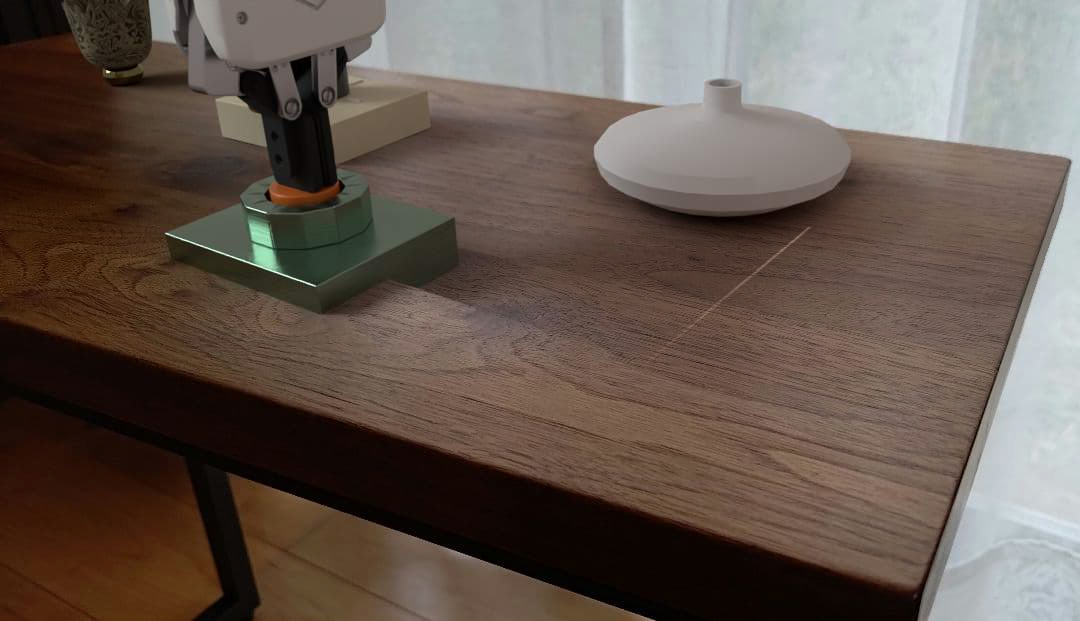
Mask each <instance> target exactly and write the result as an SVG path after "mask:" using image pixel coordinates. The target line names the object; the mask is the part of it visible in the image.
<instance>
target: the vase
mask: <svg viewBox="0 0 1080 621" xmlns="http://www.w3.org/2000/svg"><path fill="white" fill-rule="evenodd" d="M742 84H743V82H741V81H740V80H738V79H734V78H728V77H727V78H724V77H722V78H721V77H719V78H711V79H708V80H706V81H705V82H704V84H703V96H702V99H703V100H702V102H693V103H692V102H691V103H684V104H683V103H682V104H675V105H674V104H673V105H665V106H660V107H656V108H651V109H646V110H642V111H638V112H636V113H633V114H630V115H628V116H625V117H622V118H621V119H619V120H617V121H616V122H614V123H612V124H611V125H609V126H608V128H607V129H606V130H605V131H604V133H602V135H601V136H600V138H599V139H598V140H597V142H596V143H595V144H594V145H593V157H594V160H595V163H596V166H597V169H598V171H599V174H600V176H601V177H602V178H603V179H604V180H605V181H606V183H607V184H608V185H609V186H610V187H612V188H614V189H615V190H618V191H619V192H621V193H623V194H625V195H627V196H629V197H631V198H634V199H637V200H640V201H642V202H644V203H647V204H649V205H653V206H654V207H658V208H661V209H665V210H668V211H671V212H676V213H681V214H686V215H692V216H702V217H703V216H704V217H717V218H720V217H721V218H722V217H746V216H747V217H748V216H753V215H760V214H762V215H763V214H767V213H771V212H775V211H779V210H782V209H786V208H789V207H791V206H792V207H793V206H795V205H798V204H801V203H804V202H808V201H811V200H814V199H816V198H818V197H819V196H822V195H824V194H826V193H827V192H830V191H831V190H833V189H834V188H835V187H836V186H837V185H838V184H839V183H840V182H841V181H842V179H843V178H844V176H845V174H846V173H847V170H848V168H849V166H850V164H851V160H852V149H851V147H850V146H849V145H848V143H847V142H846V140H845V139H844V138H843V137H842V135H841V134H840V132H839V131H838V130H837V129H836V127H834V126H833V125H831V124H830V123H828V122H826V121H824V120H822V119H821V118H819V117H815V116H812V115H809V114H807V113H803V112H801V111H796V110H792V109H787V108H782V107H778V106H771V105H762V104H755V103H743V102H742V86H743V85H742Z"/></svg>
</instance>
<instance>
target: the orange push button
mask: <svg viewBox="0 0 1080 621" xmlns="http://www.w3.org/2000/svg"><path fill="white" fill-rule="evenodd" d="M269 191H270V197H271V202H274V203H278V204H281V205H303V204H308V203H314V202H319V201H324V200H326V199H328V198H331V197H333V196H335V195H338V194H340V188H339V181H337V183H336V184H333V185H331V186H329V187H326V186H322V189H321V190H319V191H317V192H314V193H309V192H305V191H301V190H298V189H294V188H291V187H287V186H283V185H280V184H278V183H277V182H274V183H273V184H272V185H271V186H270V189H269Z"/></svg>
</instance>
